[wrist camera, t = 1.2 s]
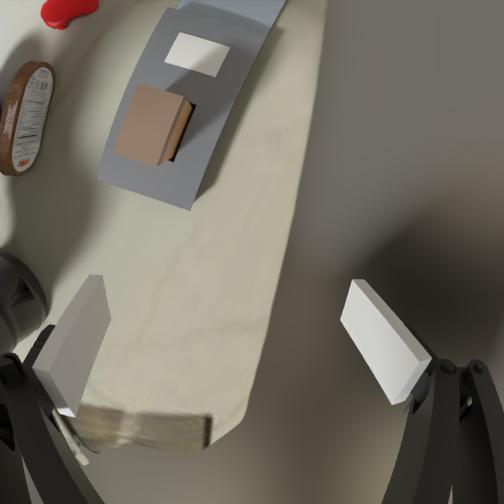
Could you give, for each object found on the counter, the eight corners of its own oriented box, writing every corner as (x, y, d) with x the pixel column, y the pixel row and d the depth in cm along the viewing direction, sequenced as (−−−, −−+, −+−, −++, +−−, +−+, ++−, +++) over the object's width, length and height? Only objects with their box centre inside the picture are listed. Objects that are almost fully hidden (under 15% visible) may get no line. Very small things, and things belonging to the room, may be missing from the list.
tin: (48, 66, 23) (15, 56, 15) (65, 66, 23) (32, 55, 16) (25, 168, 28) (-11, 181, 20) (40, 172, 29) (5, 184, 21)
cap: (36, 39, 18) (54, 24, 16) (33, 4, 14) (53, -15, 12) (81, 26, 23) (105, 13, 21) (79, -6, 19) (103, -21, 17)
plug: (146, 145, 30) (112, 152, 19) (163, 100, 28) (138, 83, 17) (175, 155, 31) (156, 166, 20) (194, 109, 29) (183, 96, 18)
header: (106, 174, 31) (95, 180, 27) (171, 18, 24) (167, 6, 20) (192, 203, 34) (190, 211, 31) (260, 45, 27) (266, 36, 23)
